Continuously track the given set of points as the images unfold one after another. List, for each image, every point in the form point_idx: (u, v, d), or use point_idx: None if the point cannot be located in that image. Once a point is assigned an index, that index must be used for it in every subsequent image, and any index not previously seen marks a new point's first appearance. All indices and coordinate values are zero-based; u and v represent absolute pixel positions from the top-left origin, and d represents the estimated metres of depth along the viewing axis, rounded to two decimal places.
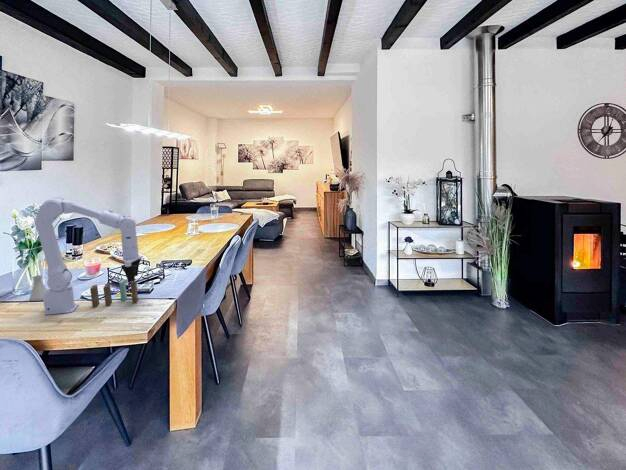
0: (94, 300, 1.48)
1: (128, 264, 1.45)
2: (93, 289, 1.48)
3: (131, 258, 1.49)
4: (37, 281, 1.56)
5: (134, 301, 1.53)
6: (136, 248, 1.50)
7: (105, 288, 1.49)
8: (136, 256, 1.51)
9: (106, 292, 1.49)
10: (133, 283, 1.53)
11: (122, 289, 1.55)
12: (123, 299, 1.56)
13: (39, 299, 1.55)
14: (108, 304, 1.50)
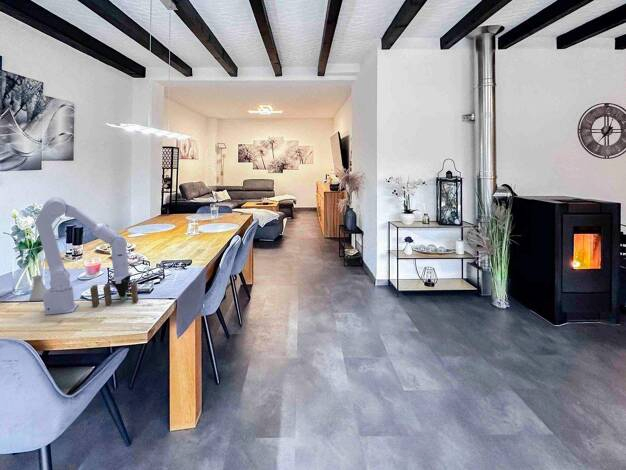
0: (94, 300, 1.48)
1: (118, 281, 1.49)
2: (93, 289, 1.48)
3: (121, 275, 1.53)
4: (37, 281, 1.56)
5: (134, 301, 1.53)
6: (126, 265, 1.54)
7: (105, 288, 1.49)
8: (126, 273, 1.55)
9: (106, 292, 1.49)
10: (133, 283, 1.53)
11: None
12: (123, 299, 1.56)
13: (39, 299, 1.55)
14: (108, 304, 1.50)
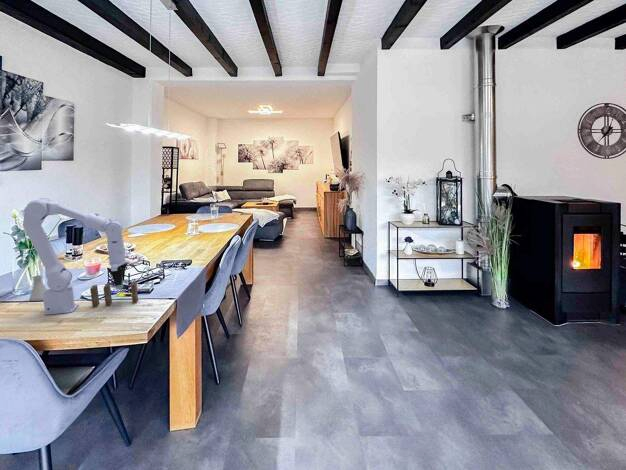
0: (94, 300, 1.48)
1: (114, 268, 1.44)
2: (93, 289, 1.48)
3: (117, 262, 1.48)
4: (37, 281, 1.56)
5: (134, 301, 1.53)
6: (122, 252, 1.49)
7: (105, 288, 1.49)
8: (122, 260, 1.49)
9: (106, 292, 1.49)
10: (133, 283, 1.53)
11: None
12: (119, 288, 1.50)
13: (39, 299, 1.55)
14: (108, 304, 1.50)
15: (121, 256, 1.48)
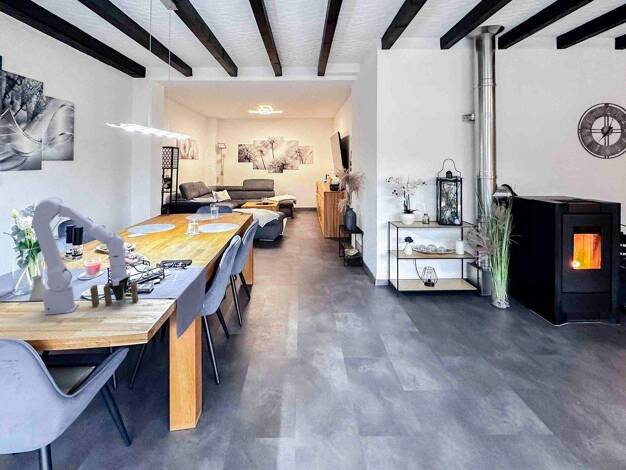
0: (94, 300, 1.48)
1: (116, 283, 1.45)
2: (93, 289, 1.48)
3: (119, 276, 1.49)
4: (37, 281, 1.56)
5: (134, 301, 1.53)
6: (124, 266, 1.50)
7: (105, 288, 1.49)
8: (124, 274, 1.50)
9: (106, 292, 1.49)
10: (133, 283, 1.53)
11: None
12: (121, 303, 1.52)
13: (39, 299, 1.55)
14: (108, 304, 1.50)
15: (122, 270, 1.49)
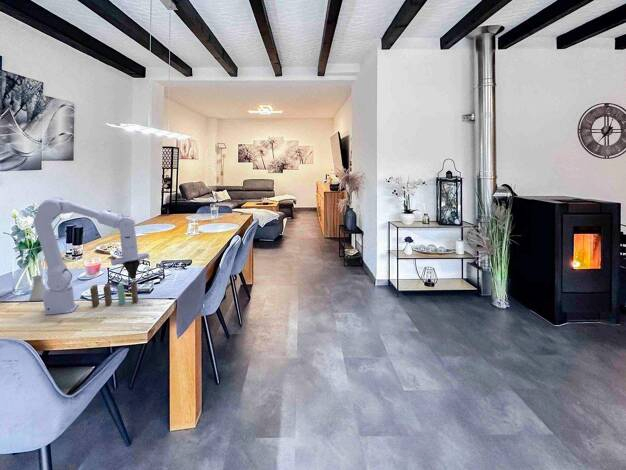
0: (94, 300, 1.48)
1: (112, 263, 1.46)
2: (93, 289, 1.48)
3: (124, 258, 1.49)
4: (37, 281, 1.56)
5: (134, 301, 1.53)
6: (129, 249, 1.48)
7: (105, 288, 1.49)
8: (129, 257, 1.48)
9: (106, 292, 1.49)
10: (133, 283, 1.53)
11: (120, 293, 1.51)
12: (121, 303, 1.52)
13: (39, 299, 1.55)
14: (108, 304, 1.50)
15: (127, 252, 1.48)
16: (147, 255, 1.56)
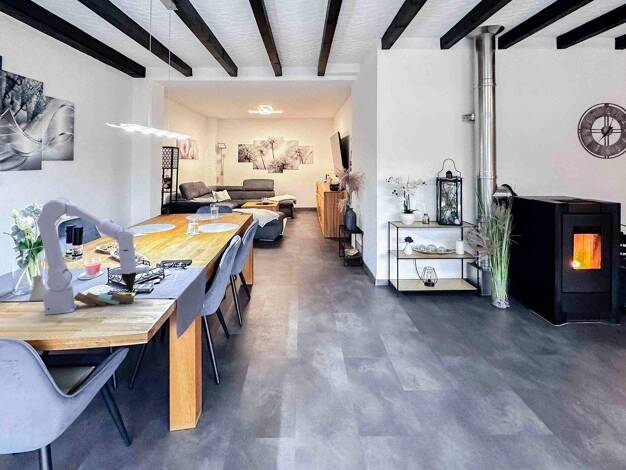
0: (87, 302, 1.48)
1: (109, 273, 1.50)
2: (76, 297, 1.46)
3: (120, 270, 1.50)
4: (37, 281, 1.56)
5: (129, 301, 1.52)
6: (123, 262, 1.48)
7: (85, 297, 1.47)
8: (123, 270, 1.49)
9: (90, 299, 1.48)
10: (112, 296, 1.52)
11: (105, 299, 1.50)
12: (117, 302, 1.51)
13: (39, 299, 1.55)
14: (103, 303, 1.50)
15: (121, 265, 1.49)
16: (145, 270, 1.53)
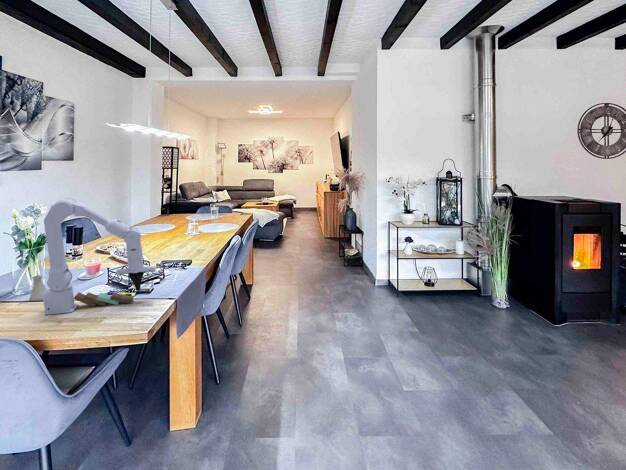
0: (87, 302, 1.48)
1: None
2: (76, 297, 1.46)
3: (128, 269, 1.51)
4: (37, 281, 1.56)
5: (129, 301, 1.52)
6: (131, 261, 1.49)
7: (85, 298, 1.47)
8: (130, 269, 1.50)
9: (90, 299, 1.48)
10: None
11: (105, 299, 1.50)
12: (116, 302, 1.51)
13: (39, 299, 1.55)
14: (103, 303, 1.50)
15: (129, 264, 1.50)
16: (153, 269, 1.54)
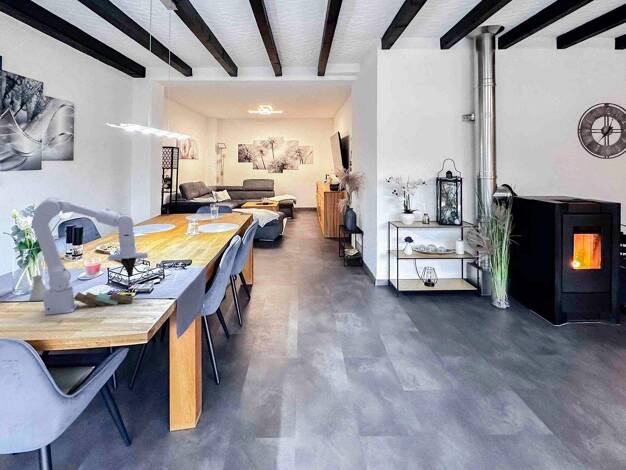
0: (87, 302, 1.48)
1: (109, 258, 1.52)
2: (76, 297, 1.46)
3: (120, 254, 1.53)
4: (37, 281, 1.56)
5: (128, 301, 1.52)
6: (123, 247, 1.51)
7: (85, 297, 1.47)
8: (123, 254, 1.51)
9: (89, 299, 1.48)
10: (110, 296, 1.52)
11: (104, 299, 1.49)
12: (116, 302, 1.51)
13: (39, 299, 1.55)
14: (103, 303, 1.50)
15: (121, 250, 1.51)
16: (145, 255, 1.55)
